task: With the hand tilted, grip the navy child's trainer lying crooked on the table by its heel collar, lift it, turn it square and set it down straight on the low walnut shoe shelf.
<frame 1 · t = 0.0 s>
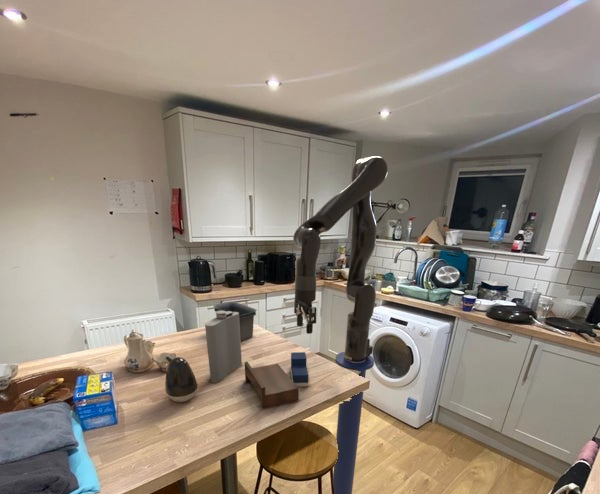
hand: (304, 329, 126), 18 cm above the counter, tool pointing down, fingers open, 8 cm apart
chinaware: (148, 365, 137), on the counter
flask: (226, 372, 133), on the counter
storage bin: (234, 335, 168), on the counter
trainer: (299, 377, 130), on the counter
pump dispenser: (182, 398, 115), on the counter
shoe shelf: (270, 390, 120), on the counter
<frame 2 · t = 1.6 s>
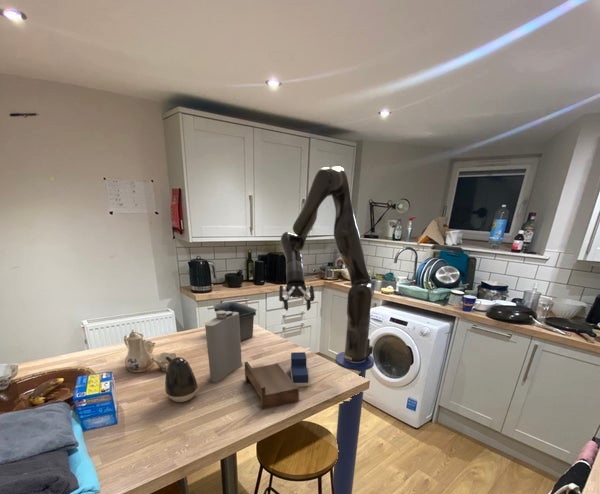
hand: (297, 309, 134), 23 cm above the counter, tool tilted 45°, fingers open, 8 cm apart
nothing on the counter moved.
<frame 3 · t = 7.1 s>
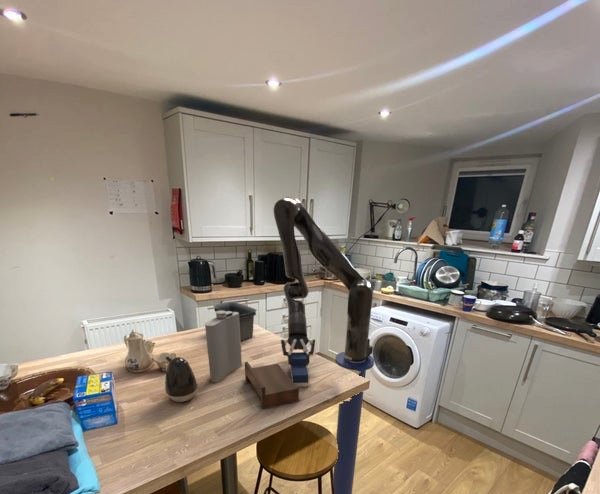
hand: (298, 364, 130), 4 cm above the counter, tool tilted 45°, fingers closed on trainer, 5 cm apart
trainer: (299, 377, 130), on the counter, touching gripper
everything else where it was.
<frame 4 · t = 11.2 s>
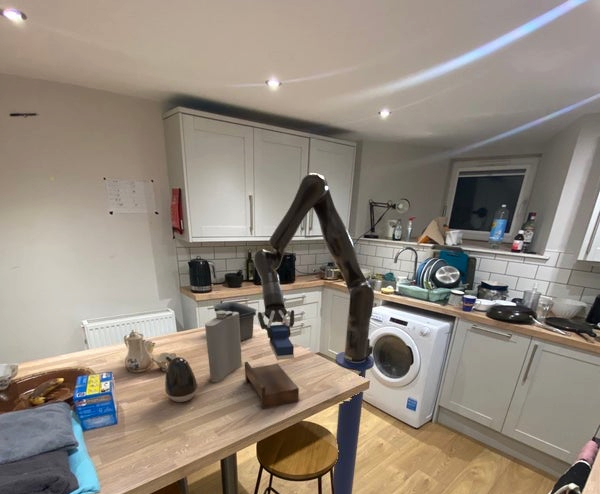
hand: (279, 337, 121), 17 cm above the counter, tool tilted 45°, fingers closed on trainer, 5 cm apart
trainer: (281, 351, 121), point 13 cm above the counter, touching gripper
everything else where it was.
when the fingers open (9 cm above the counter, at t = 15.6 s): trainer stays where it is, resting on shoe shelf.
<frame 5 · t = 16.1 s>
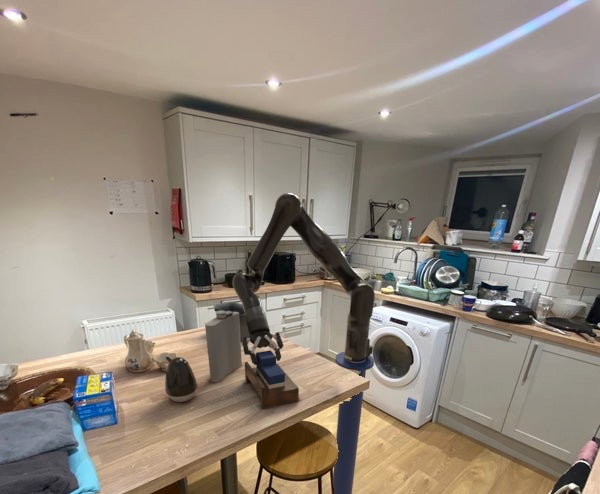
hand: (267, 362, 118), 10 cm above the counter, tool tilted 45°, fingers open, 8 cm apart
trainer: (270, 378, 118), point 5 cm above the counter, touching shoe shelf
everything else where it was.
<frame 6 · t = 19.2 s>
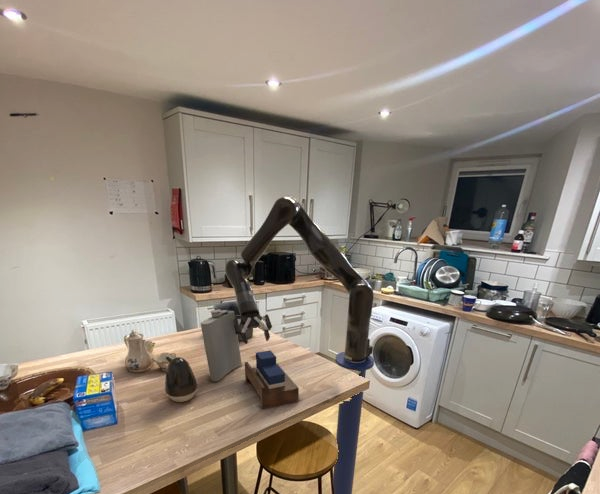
hand: (257, 341, 128), 13 cm above the counter, tool tilted 45°, fingers open, 8 cm apart
flask: (226, 372, 132), on the counter, touching hand
everything else where it was.
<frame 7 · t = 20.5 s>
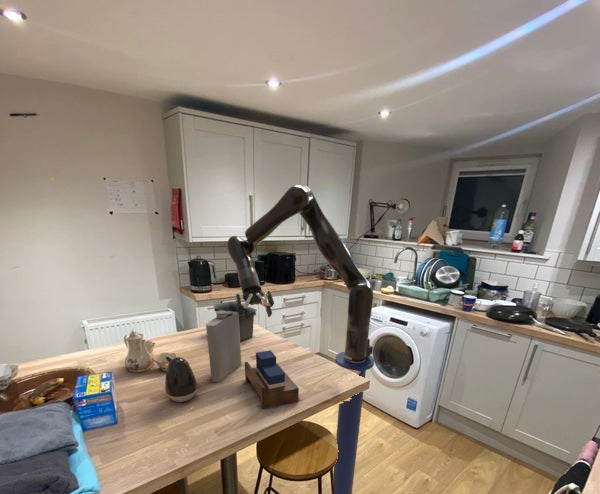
hand: (259, 317, 127), 22 cm above the counter, tool tilted 45°, fingers open, 8 cm apart
flask: (226, 372, 133), on the counter
everything else where it was.
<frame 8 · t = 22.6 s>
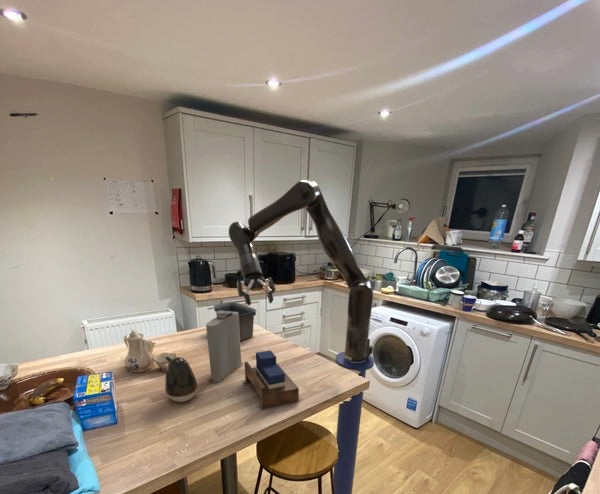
hand: (260, 303, 127), 27 cm above the counter, tool tilted 45°, fingers open, 8 cm apart
nothing on the counter moved.
at the end: trainer inside the target area (0.1 cm from its centre), point 5.0 cm above the counter; trainer tilted 0°; the gripper is holding nothing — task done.
